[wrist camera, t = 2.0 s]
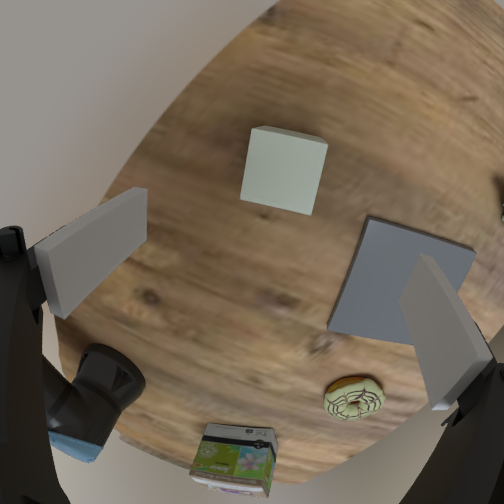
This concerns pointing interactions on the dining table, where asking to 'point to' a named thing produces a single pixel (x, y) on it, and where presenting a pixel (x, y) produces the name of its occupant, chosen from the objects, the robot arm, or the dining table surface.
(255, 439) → the tea box
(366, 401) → the decorated donut
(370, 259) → the slate plate
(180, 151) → the dining table surface
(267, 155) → the sage block
